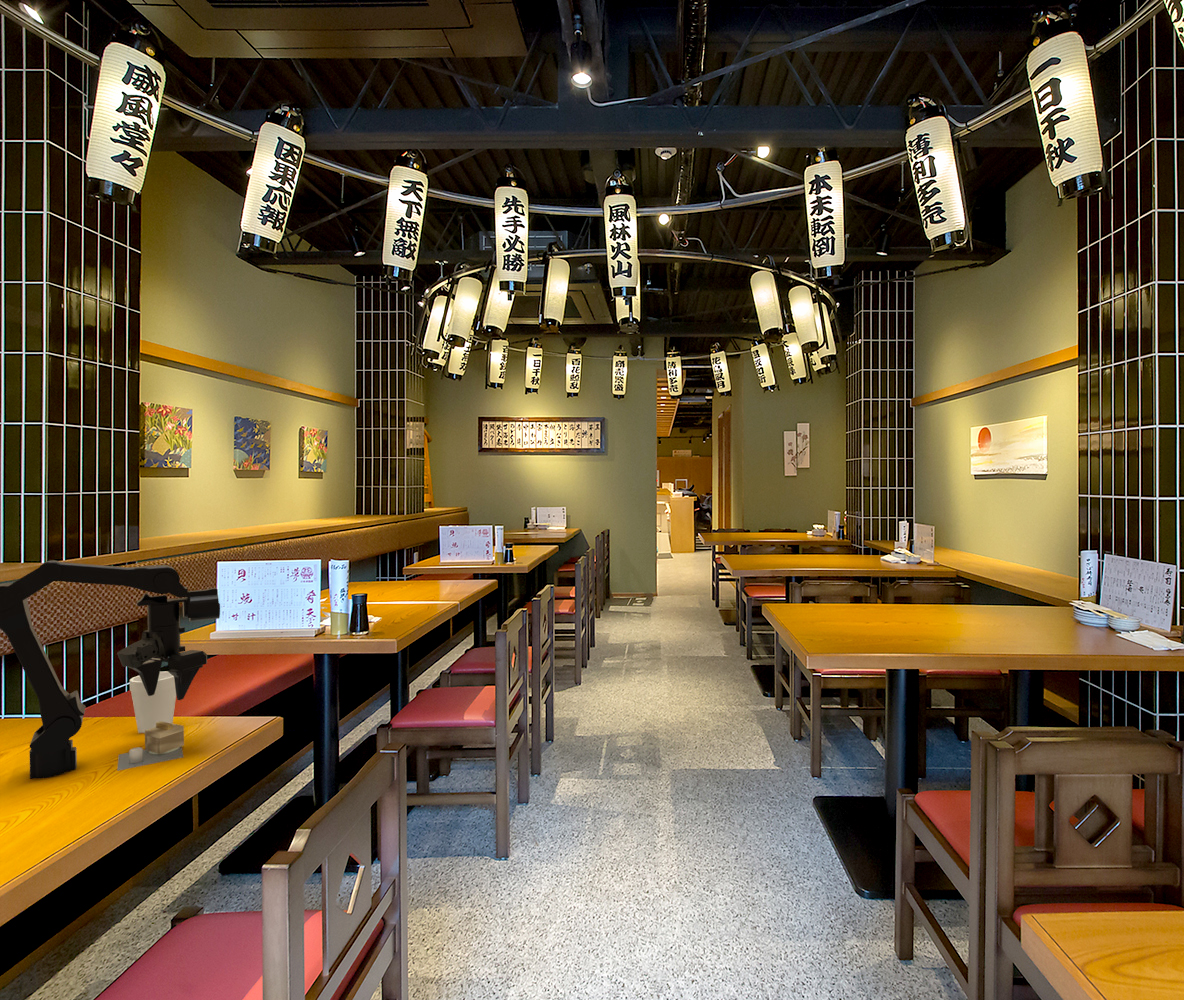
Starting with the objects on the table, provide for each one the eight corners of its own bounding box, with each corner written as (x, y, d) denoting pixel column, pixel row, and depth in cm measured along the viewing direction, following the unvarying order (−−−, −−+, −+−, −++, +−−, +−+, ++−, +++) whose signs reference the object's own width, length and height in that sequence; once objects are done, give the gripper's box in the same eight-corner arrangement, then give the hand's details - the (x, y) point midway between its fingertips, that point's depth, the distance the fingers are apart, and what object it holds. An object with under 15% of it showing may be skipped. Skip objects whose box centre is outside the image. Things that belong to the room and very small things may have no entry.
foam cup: (120, 737, 148) (119, 680, 148) (158, 723, 157) (157, 670, 157) (152, 741, 145) (151, 683, 145) (188, 727, 154) (187, 672, 154)
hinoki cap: (145, 750, 136) (144, 725, 136) (169, 742, 140) (168, 718, 140) (159, 753, 134) (159, 728, 134) (183, 745, 138) (183, 721, 138)
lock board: (117, 775, 127) (117, 757, 127) (118, 759, 135) (118, 742, 135) (183, 761, 133) (183, 744, 133) (181, 747, 141) (180, 731, 141)
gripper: (95, 629, 134) (96, 704, 134) (155, 634, 127) (157, 714, 127) (149, 619, 144) (150, 689, 144) (208, 624, 137) (209, 697, 137)
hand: (165, 697), depth 138 cm, fingers open, 9 cm apart
